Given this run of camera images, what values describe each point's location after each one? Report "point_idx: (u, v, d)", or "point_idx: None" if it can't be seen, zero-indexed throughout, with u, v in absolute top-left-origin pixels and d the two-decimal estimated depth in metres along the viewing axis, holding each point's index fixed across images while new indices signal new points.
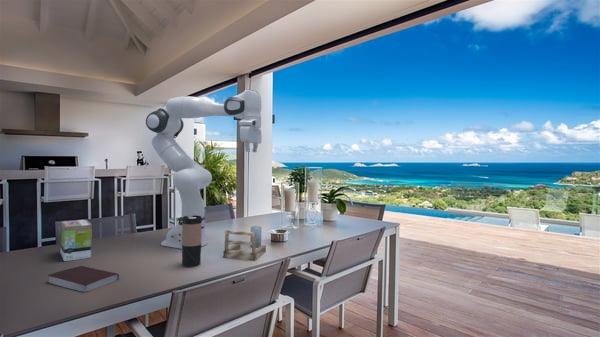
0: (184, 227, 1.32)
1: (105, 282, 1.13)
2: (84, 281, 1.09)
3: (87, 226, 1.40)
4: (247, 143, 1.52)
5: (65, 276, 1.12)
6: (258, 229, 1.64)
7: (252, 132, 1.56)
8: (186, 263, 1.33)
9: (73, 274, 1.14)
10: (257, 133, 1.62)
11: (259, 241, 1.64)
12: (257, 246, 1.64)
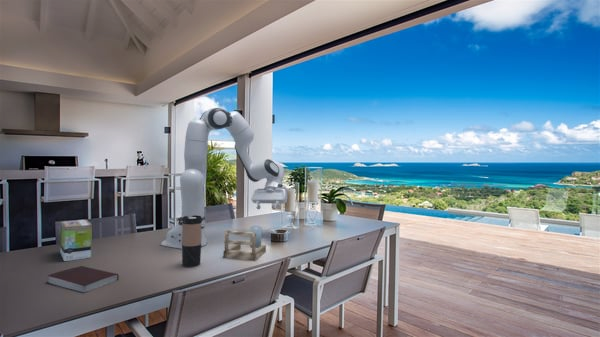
0: (184, 227, 1.32)
1: (105, 282, 1.13)
2: (84, 281, 1.09)
3: (87, 226, 1.40)
4: (279, 203, 1.77)
5: (65, 276, 1.12)
6: (258, 229, 1.64)
7: None
8: (186, 263, 1.33)
9: (73, 274, 1.14)
10: None
11: (259, 241, 1.64)
12: (257, 246, 1.64)
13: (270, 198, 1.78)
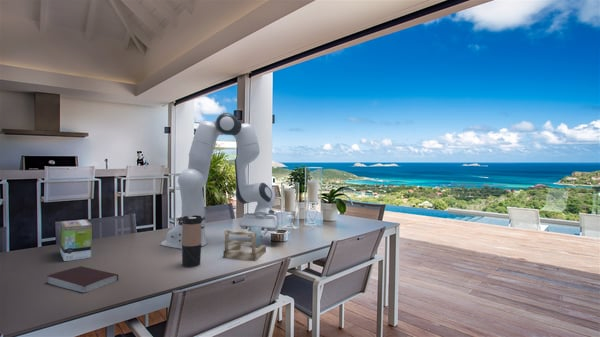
0: (184, 227, 1.32)
1: (104, 283, 1.12)
2: (83, 282, 1.08)
3: (87, 226, 1.40)
4: (267, 230, 1.67)
5: (64, 276, 1.12)
6: (258, 229, 1.64)
7: None
8: (186, 263, 1.33)
9: (73, 275, 1.14)
10: None
11: (259, 241, 1.64)
12: (257, 246, 1.64)
13: (260, 225, 1.67)
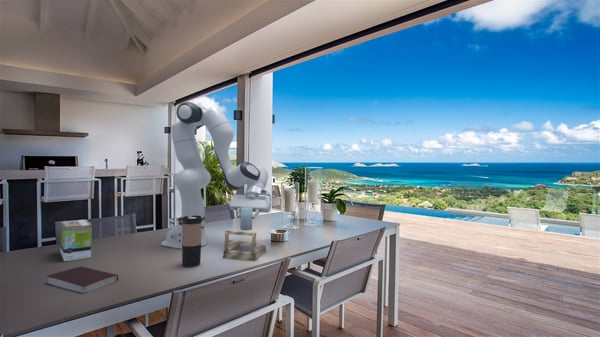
0: (184, 227, 1.32)
1: (104, 283, 1.12)
2: (83, 282, 1.08)
3: (87, 226, 1.40)
4: (259, 212, 1.54)
5: (64, 277, 1.12)
6: (249, 209, 1.50)
7: None
8: (186, 263, 1.33)
9: (72, 275, 1.13)
10: None
11: (250, 223, 1.51)
12: (248, 228, 1.50)
13: (251, 206, 1.54)
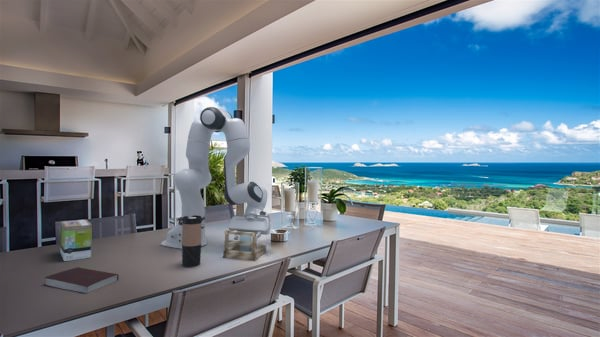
0: (184, 227, 1.32)
1: (105, 283, 1.13)
2: (85, 282, 1.08)
3: (87, 226, 1.40)
4: (260, 234, 1.53)
5: (63, 278, 1.11)
6: None
7: None
8: (186, 263, 1.33)
9: (72, 276, 1.13)
10: None
11: (249, 248, 1.51)
12: None
13: (250, 228, 1.54)
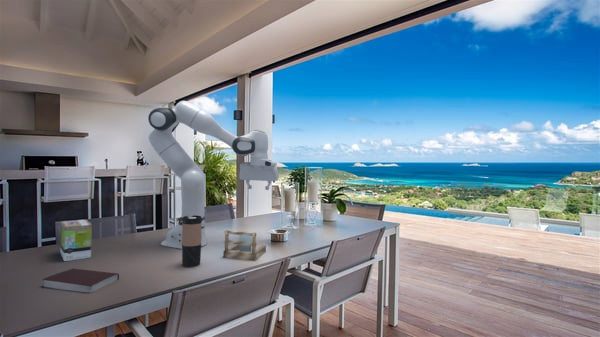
0: (184, 227, 1.32)
1: (107, 282, 1.13)
2: (87, 282, 1.08)
3: (87, 226, 1.40)
4: (270, 182, 1.66)
5: (63, 279, 1.10)
6: None
7: None
8: (186, 263, 1.33)
9: (71, 276, 1.12)
10: None
11: (249, 248, 1.51)
12: None
13: (260, 178, 1.65)
